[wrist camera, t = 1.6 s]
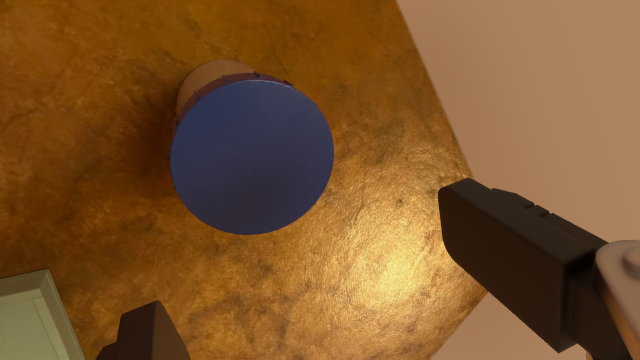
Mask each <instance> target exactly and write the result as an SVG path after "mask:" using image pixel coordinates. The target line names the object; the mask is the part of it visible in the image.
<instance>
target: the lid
mask: <svg viewBox="0 0 640 360" xmlns="http://www.w3.org/2000/svg"><path fill="white" fill-rule="evenodd" d="M293 86H294V85H292V84H291V83H289V82H288V81H286V80H284V81H282V80H280V79H277V78H275V77H272V76H269V75H264V74H260V73H258V72H257V71H254V73H237V74H231V75H227V76H225V75H222V77H221V78H218V79H216V80H214V81H212V82H210V83H208V84H206V85H205V86H203V87H202V88H200V89H199V90H198V91H197V92H196V91H194V92H193V93H194V94H193V95H192V96H191V97H190V98H189V100H188V101H187V102H186V103H185V104H184V106H183V107H182V109H181V110H180V112H179V114H178V116H177V117H176V116H175V117H174V126H173V129H172V133H171V140H170V147H168V159H170V169H171V176H172V180H173V183H174V188H175V189H176V191H177V193H178V195H179V197H180V199H181V200H182V202H183V203H184V205H185V206H186V207H187V208H188V209H189V210H190V211H191V213H192V214H194V215H195V216H196V217H197V218H198V219H200V220H201V221H203V222H204V223H206V224H207V225H209V226H211V227H214V228H216V229H218V230H221V231H224V232H227V233H233V234H240V235H257V234H263V233H268V232H272V231H275V230H278V229H280V228H283V227H285V226H287V225H289V224H291V223H293V222H294V221H296V220H297V219H299V218H300V217H302V216H303V215H304V214H305V213H306V212H307V211H309V210H310V209H311V207H312V206H313V205H314V204H315V203H316V202H317V200H318V199H319V198H320V196H321V195H322V193H323V191H324V189H325V188H326V186H327V183H328V181H329V178H330V175H331V171H332V167H333V160H334V146H333V139H332V135H331V131H330V128H329V126H328V123H327V121H326V119H325V117H324V116H323V114H322V112H321V111H320V110H319V109H318V107H317V105H316V104H315V103H314V102H312V101H311V100H310V99H309V98H308V97H307V96H305V95H304V94H303V93H301V92H300V91H298V90H297V89H295V88H294V87H293Z"/></svg>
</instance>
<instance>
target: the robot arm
mask: <svg viewBox="0 0 640 360" xmlns="http://www.w3.org/2000/svg"><path fill="white" fill-rule="evenodd" d="M438 202H439V211H440V220H441V229H442V237H443V242H444V245H445V247H446V250H447V252H448V253H449V255H450V256H451V258H452V259H453V260H454V261H455V262H456V263H457V264H458V265H459V266H461V267H462V268H463V269H464V270H465V271H466V272H467V273H468V274H470V275H471V276H472V277H473V278H474V279H475V280H476V281H477V282H479V283H480V284H481V285H482V286H483V287H484V288H485V289H486V290H488V291H489V292H490V293H491V294H492V295H493V296H494V297H495V298H497V299H498V300H499V301H500V302H501V303H502V304H503V305H504V306H506V307H507V308H508V309H509V310H510V311H511V312H512V313H514V314H515V315H516V316H517V317H518V318H519V319H520V320H521V321H523V322H524V323H525V324H526V325H527V326H528V327H529V328H531V329H532V330H533V331H534V332H535V333H536V334H537V335H538V336H539V337H541V338H542V339H543V340H544V341H545V342H546V343H548V345H550V346H551V347H552V348H553V349H554V350H555V351H557V352H558V353H560V352H562V351H564V350H566V349H568V348H570V347H572V346H574V345H575V344H577V343H578V344H579V345H580V346H581V347H583V348H584V349H585V350H586V351H587V352H586V360H640V241H639V240H622V241H616V242H611V243H608V242H606V241H604V240H603V239H601V238H599V237H597V236H595V235H593V234H591V233H589V232H587V231H586V230H584V229H582V228H580V227H578V226H576V225H574V224H572V223H571V222H569V221H567V220H565V219H563V218H561V217H559V216H557V215H555V214H554V213H552V214H550V213H549V211H548V210H546V209H544V208H542V207H540V206H538V205H536V206H535V205H534V203H533V202H531V201H529V200H527V199H525V198H523V197H521V196H519V195H518V194H516V193H511V192H508V191H503V190H499V189H495V188H493V189H489V188H487V187H485V186H484V185H482V184H480V183H478V182H476V181H475V180H473V179H471V178H465V179H463V180H460V181H458V182H455V183H453V184H450V185H448V186H445V187H443V188H441V189H440V190H439V192H438ZM96 360H191V359H190V356H189V353H188V351H187V348H186V346H185V345H184V343H183V341H182V339H181V337H180V335H179V334H178V332H177V330H176V328H175V326H174V324H173V323H172V321H171V319H170V317H169V315H168V313H167V312H166V310H165V308H164V306H163V305H162V303H161V302H160V301H158V300H156V301H154V302H151V303H149V304H146V305H144V306H141V307H139V308H136V309H134V310H131V311H129V312H126V313H124V314H122V316H121V319H120V324H119V330H118V336H117V342H115V343H113V344H110V345H108V346H105V347H103V348H102V350H101V352H100V353H99V355H98V356H97V358H96Z"/></svg>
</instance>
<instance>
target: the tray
mask: <svg viewBox="0 0 640 360" xmlns="http://www.w3.org/2000/svg"><path fill="white" fill-rule="evenodd" d="M0 360H86V359H85V357H84V354H83V352H82V349H81V347H80V344H79V342H78V340H77V337H76V335H75V332H74V330H73V327H72V325H71V322H70V320H69V317H68V315H67V313H66V310H65V308H64V305H63V303H62V300H61V298H60V295H59V293H58V290H57V288H56V286H55V283H54V281H53V278H52V276H51V273H50V271H49V269H44V270H40V271H35V272H30V273H26V274H21V275H16V276H12V277H7V278H2V279H0Z"/></svg>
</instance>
